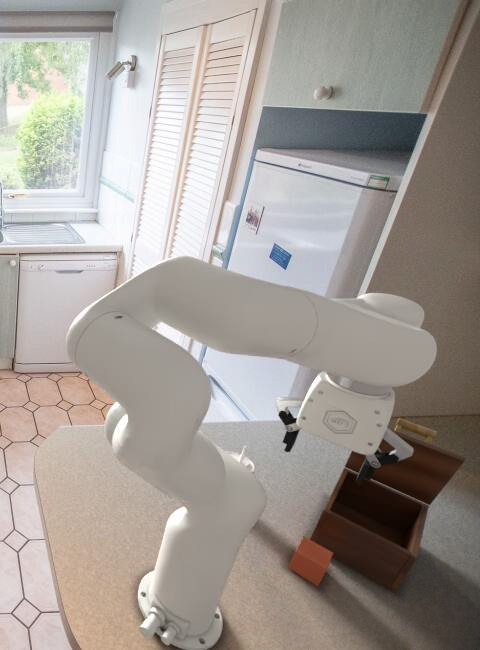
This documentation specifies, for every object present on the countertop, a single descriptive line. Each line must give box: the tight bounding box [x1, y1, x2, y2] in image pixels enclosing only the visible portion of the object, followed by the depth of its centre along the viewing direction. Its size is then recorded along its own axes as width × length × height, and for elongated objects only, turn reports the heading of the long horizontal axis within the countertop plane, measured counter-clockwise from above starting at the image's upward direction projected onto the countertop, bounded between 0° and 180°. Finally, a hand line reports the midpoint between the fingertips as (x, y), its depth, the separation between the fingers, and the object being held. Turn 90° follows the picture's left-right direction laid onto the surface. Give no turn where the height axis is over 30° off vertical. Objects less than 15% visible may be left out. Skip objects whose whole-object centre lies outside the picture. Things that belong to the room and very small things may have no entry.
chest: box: [309, 467, 430, 593], centre depth 84 cm, size 16×13×9 cm
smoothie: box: [225, 444, 256, 475], centre depth 92 cm, size 6×6×14 cm
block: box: [288, 535, 333, 587], centre depth 79 cm, size 4×4×4 cm
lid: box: [344, 417, 467, 506], centre depth 82 cm, size 16×13×5 cm
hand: (322, 462), depth 74 cm, fingers open, 9 cm apart
